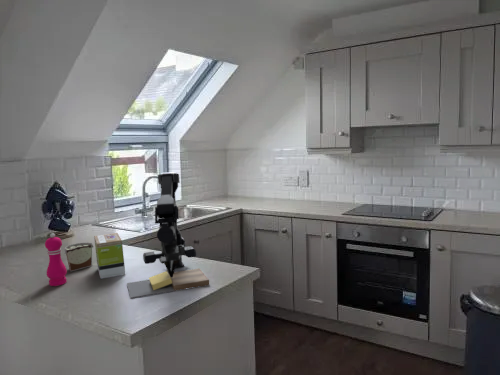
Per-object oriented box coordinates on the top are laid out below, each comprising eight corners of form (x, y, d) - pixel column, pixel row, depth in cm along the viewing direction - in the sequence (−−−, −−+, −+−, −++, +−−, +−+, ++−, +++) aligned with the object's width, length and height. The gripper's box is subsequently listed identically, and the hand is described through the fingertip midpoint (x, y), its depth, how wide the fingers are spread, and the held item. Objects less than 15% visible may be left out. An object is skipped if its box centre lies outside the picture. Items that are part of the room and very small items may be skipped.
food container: (89, 262, 196) (86, 240, 195) (95, 265, 192) (93, 242, 191) (61, 269, 188) (59, 247, 186) (67, 272, 183) (64, 249, 182)
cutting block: (167, 278, 169) (166, 273, 169) (199, 273, 173) (199, 268, 173) (173, 291, 155) (173, 285, 155) (209, 285, 159) (209, 279, 159)
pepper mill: (70, 279, 173) (65, 230, 171) (63, 286, 166) (58, 234, 164) (52, 280, 173) (46, 231, 171) (44, 287, 166) (38, 236, 163)
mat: (127, 284, 164) (126, 283, 164) (166, 278, 169) (166, 276, 169) (130, 298, 149) (130, 297, 149) (174, 291, 154) (174, 290, 154)
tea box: (97, 269, 186) (93, 235, 184) (121, 265, 190) (118, 232, 188) (99, 279, 172) (96, 242, 170) (125, 274, 176) (122, 239, 174)
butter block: (150, 282, 164) (148, 277, 163) (168, 275, 166) (166, 271, 165) (153, 290, 155) (151, 285, 155) (172, 283, 157) (170, 278, 157)
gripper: (145, 244, 149) (148, 288, 151) (198, 237, 155) (201, 279, 157) (141, 237, 159) (144, 278, 161) (191, 231, 166) (194, 270, 168)
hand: (171, 277), depth 162 cm, fingers closed
